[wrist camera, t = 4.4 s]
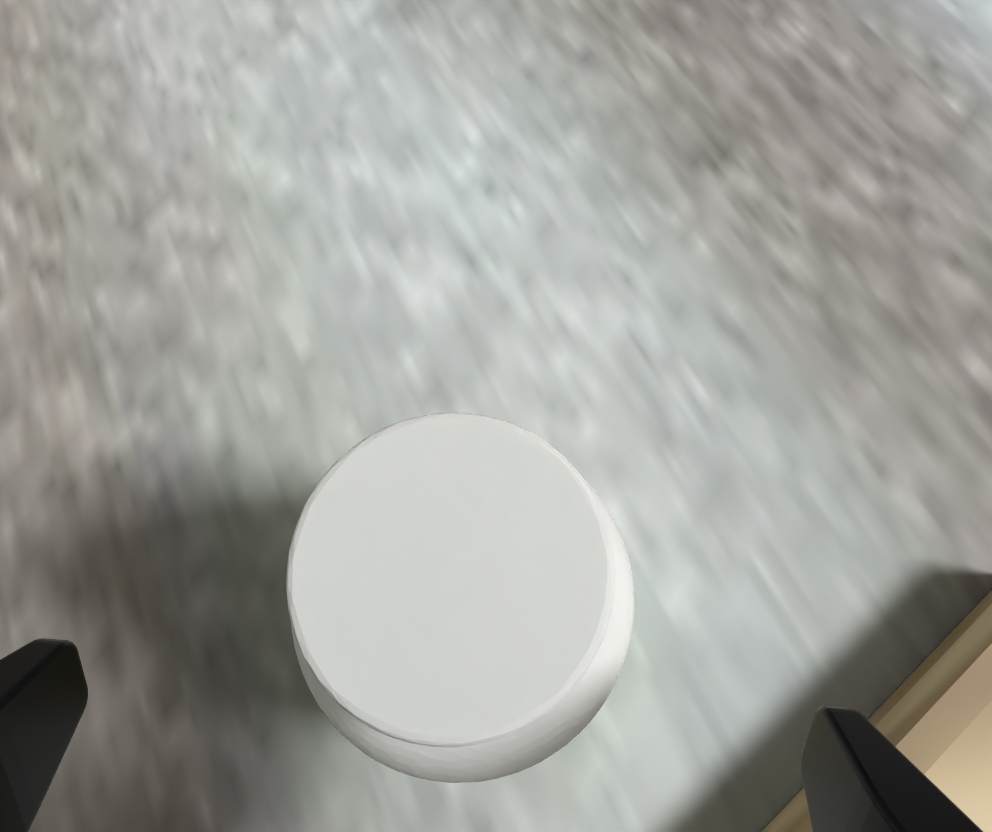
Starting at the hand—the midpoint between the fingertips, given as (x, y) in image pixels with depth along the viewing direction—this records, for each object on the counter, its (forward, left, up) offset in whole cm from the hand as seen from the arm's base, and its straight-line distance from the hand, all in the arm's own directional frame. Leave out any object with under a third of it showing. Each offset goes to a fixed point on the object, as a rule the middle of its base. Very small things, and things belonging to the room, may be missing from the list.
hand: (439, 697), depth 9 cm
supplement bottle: (+1, -1, -9) cm, 9 cm away
